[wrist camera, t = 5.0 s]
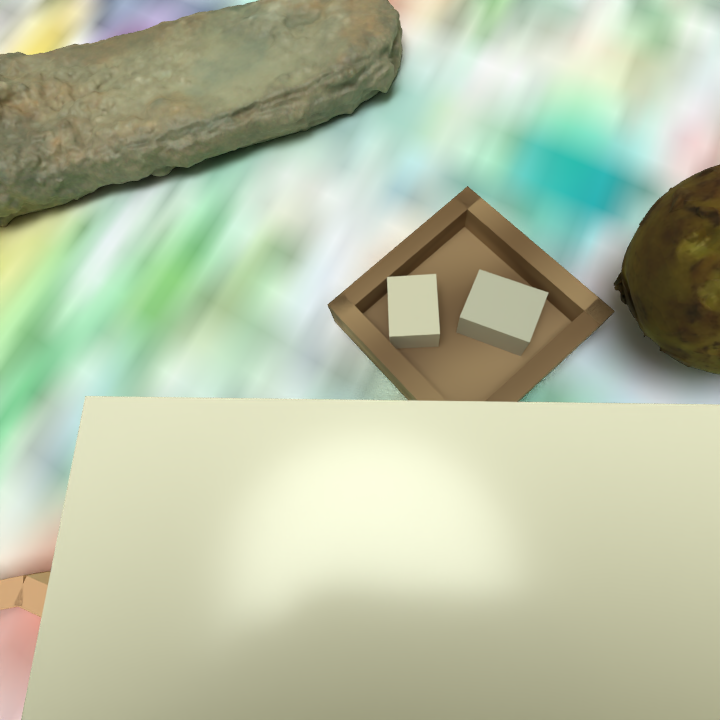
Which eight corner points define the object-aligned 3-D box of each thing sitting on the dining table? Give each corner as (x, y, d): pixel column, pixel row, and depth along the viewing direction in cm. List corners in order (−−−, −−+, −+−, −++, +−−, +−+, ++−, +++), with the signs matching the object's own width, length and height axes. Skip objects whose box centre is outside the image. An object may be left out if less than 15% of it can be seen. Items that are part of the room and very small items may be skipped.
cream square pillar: (522, 695, 14) (1258, 1977, 2) (326, 679, 14) (-141, 1535, 2) (512, 490, 15) (861, 407, 3) (336, 484, 16) (84, 396, 4)
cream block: (438, 346, 21) (440, 333, 20) (391, 349, 22) (389, 336, 20) (434, 290, 22) (435, 273, 21) (389, 292, 22) (387, 277, 21)
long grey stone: (427, 148, 27) (380, 23, 30) (434, 57, 22) (376, -79, 25) (-224, 311, 26) (-195, 164, 30) (-369, 255, 21) (-314, 87, 25)
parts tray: (597, 328, 21) (614, 311, 19) (459, 455, 21) (464, 449, 19) (463, 212, 24) (467, 186, 22) (335, 321, 23) (327, 304, 21)
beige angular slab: (537, 310, 21) (548, 292, 20) (520, 356, 21) (529, 342, 19) (474, 288, 22) (479, 269, 20) (456, 332, 21) (459, 317, 20)
